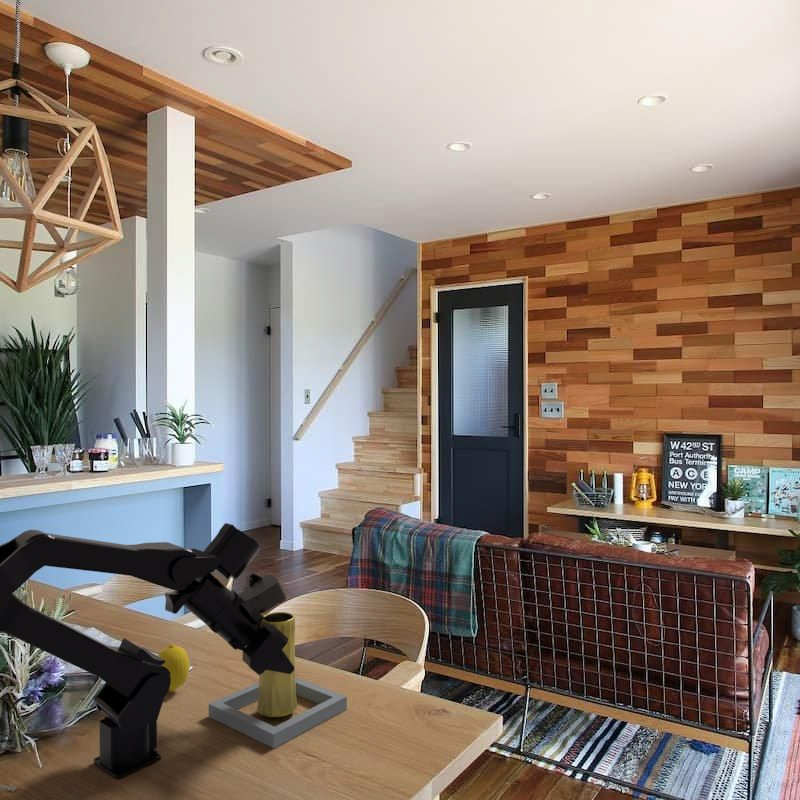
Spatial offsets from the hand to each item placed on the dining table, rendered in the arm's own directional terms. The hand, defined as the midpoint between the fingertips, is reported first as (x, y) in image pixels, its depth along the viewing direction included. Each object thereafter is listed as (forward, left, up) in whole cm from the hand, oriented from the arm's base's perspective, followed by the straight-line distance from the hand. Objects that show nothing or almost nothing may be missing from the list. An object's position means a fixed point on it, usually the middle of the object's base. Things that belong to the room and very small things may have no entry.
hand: (285, 664), depth 107 cm
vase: (-1, +1, -7) cm, 7 cm away
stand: (-1, +1, -7) cm, 7 cm away
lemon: (-7, +20, -8) cm, 22 cm away
